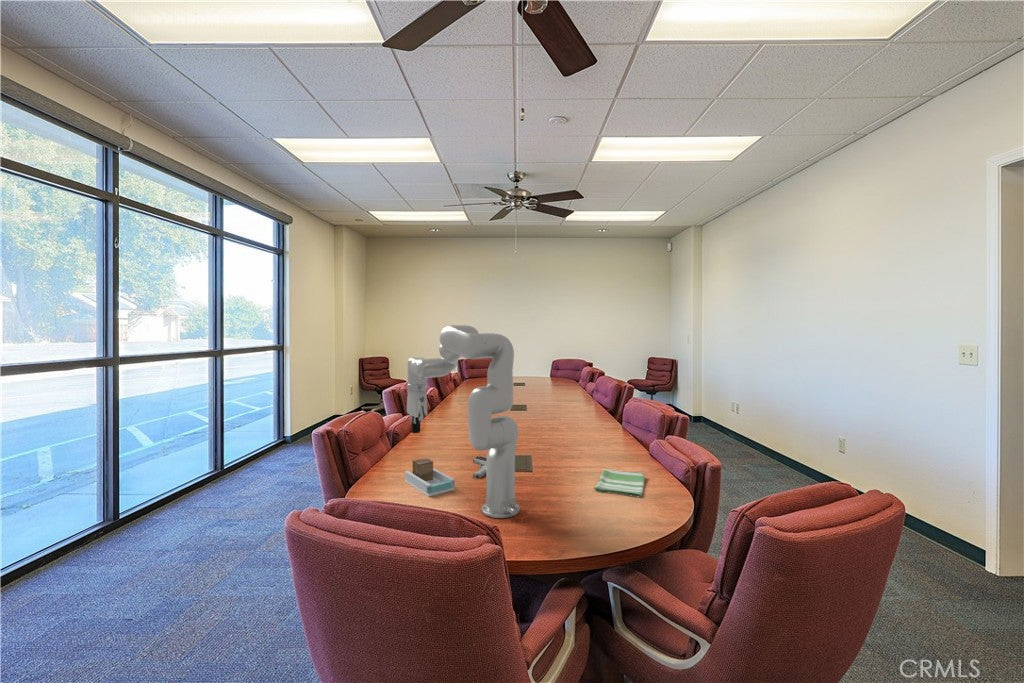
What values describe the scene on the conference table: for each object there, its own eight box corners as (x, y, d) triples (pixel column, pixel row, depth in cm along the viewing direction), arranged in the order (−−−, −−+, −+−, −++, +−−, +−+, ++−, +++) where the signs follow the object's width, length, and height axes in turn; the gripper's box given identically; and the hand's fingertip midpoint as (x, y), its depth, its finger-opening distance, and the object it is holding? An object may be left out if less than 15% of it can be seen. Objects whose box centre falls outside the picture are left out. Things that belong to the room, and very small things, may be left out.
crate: (433, 479, 174) (433, 461, 174) (419, 482, 170) (419, 464, 170) (426, 475, 179) (426, 457, 179) (412, 478, 175) (412, 460, 175)
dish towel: (592, 492, 165) (592, 485, 165) (602, 473, 187) (602, 467, 187) (641, 499, 159) (641, 491, 159) (646, 479, 181) (646, 472, 181)
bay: (454, 489, 166) (454, 479, 166) (428, 496, 159) (428, 485, 159) (430, 475, 182) (430, 466, 182) (405, 481, 175) (405, 471, 175)
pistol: (478, 454, 206) (505, 457, 200) (478, 460, 206) (505, 463, 200) (451, 469, 184) (481, 473, 179) (451, 476, 184) (481, 480, 179)
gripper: (433, 390, 175) (432, 435, 176) (417, 385, 186) (416, 427, 187) (416, 391, 170) (415, 438, 171) (400, 386, 182) (399, 429, 183)
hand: (415, 432), depth 179 cm, fingers closed
